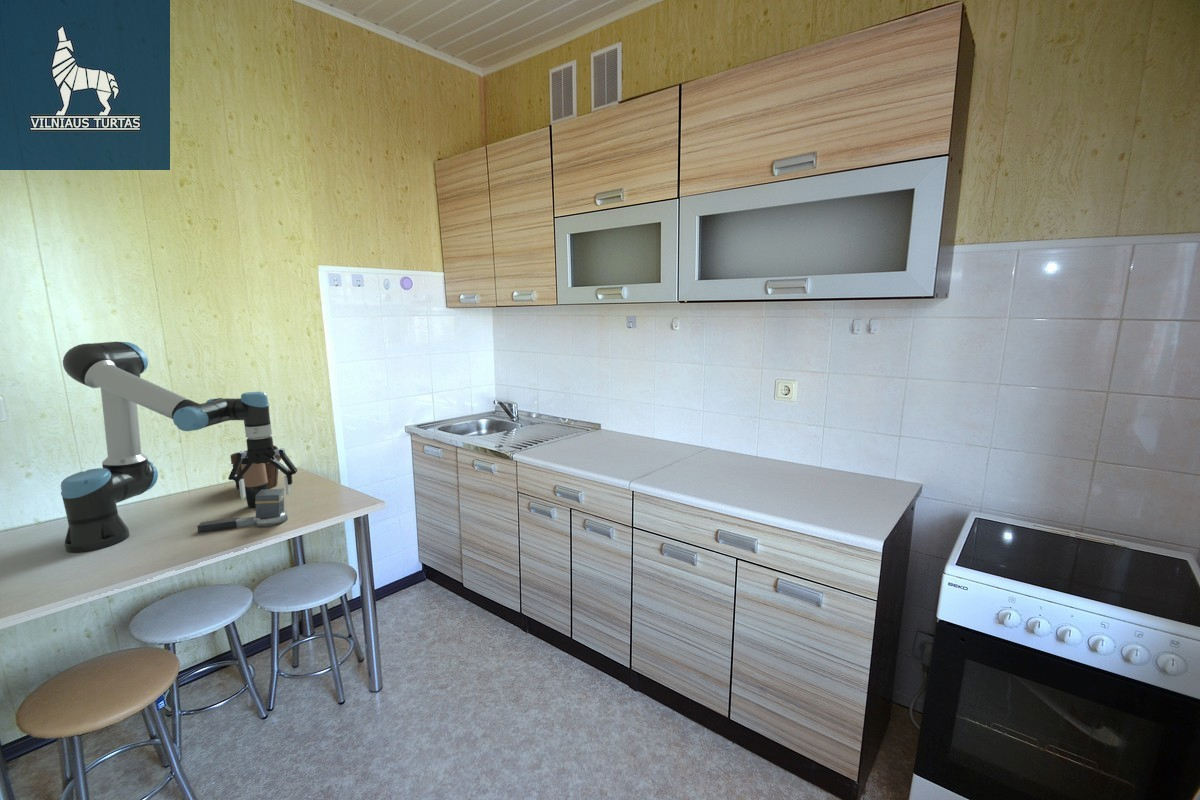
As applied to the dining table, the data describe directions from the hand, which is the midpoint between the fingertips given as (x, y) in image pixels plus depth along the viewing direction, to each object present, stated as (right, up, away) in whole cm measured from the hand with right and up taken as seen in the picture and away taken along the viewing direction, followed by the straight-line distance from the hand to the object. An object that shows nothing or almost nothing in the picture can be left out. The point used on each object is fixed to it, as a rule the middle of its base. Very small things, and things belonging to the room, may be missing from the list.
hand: (266, 495), depth 180 cm
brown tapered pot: (-29, -4, +41) cm, 50 cm away
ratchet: (-7, -10, -1) cm, 12 cm away
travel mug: (-15, -7, +18) cm, 25 cm away
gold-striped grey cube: (+1, -7, +1) cm, 7 cm away
